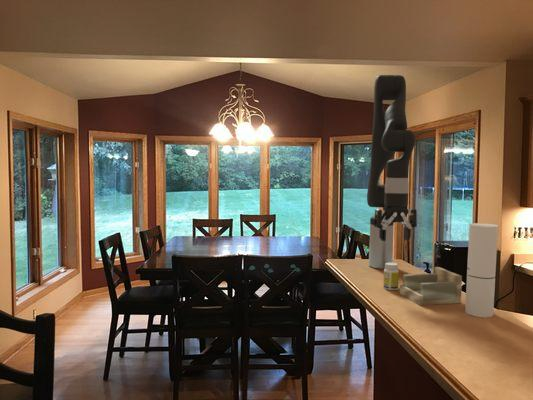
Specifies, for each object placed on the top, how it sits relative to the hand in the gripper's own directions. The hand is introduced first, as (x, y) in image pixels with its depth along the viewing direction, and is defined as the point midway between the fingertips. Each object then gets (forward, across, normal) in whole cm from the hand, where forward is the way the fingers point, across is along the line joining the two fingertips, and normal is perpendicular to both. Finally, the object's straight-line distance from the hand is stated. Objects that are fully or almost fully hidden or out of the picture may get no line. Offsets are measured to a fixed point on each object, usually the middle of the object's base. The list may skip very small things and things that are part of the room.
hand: (394, 240), depth 147 cm
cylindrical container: (+16, -12, +27) cm, 34 cm away
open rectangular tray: (+16, -5, +12) cm, 21 cm away
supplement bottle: (+17, +1, 0) cm, 17 cm away
